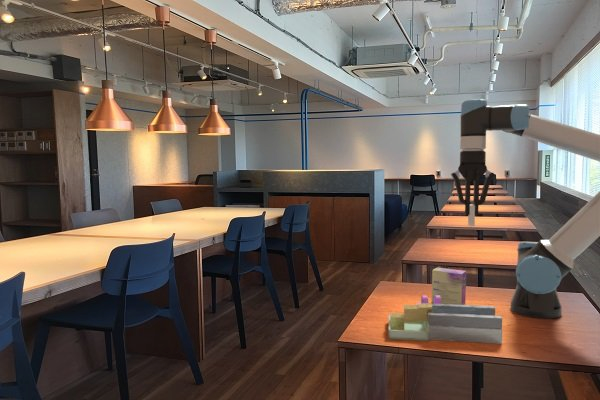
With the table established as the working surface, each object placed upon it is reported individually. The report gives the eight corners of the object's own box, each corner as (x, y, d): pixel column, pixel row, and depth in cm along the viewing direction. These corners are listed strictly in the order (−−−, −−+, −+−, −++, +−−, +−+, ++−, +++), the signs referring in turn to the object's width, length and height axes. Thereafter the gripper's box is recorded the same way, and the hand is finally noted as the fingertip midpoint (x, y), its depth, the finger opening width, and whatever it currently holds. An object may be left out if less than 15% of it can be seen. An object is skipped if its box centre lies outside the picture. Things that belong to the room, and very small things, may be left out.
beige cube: (431, 316, 143) (431, 303, 143) (433, 321, 140) (432, 307, 139) (417, 316, 144) (417, 303, 144) (418, 321, 140) (418, 307, 140)
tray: (425, 324, 149) (425, 316, 149) (428, 341, 135) (428, 332, 135) (388, 322, 151) (388, 314, 151) (388, 338, 137) (388, 330, 137)
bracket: (441, 318, 154) (441, 297, 154) (423, 318, 154) (423, 297, 154) (430, 306, 167) (430, 286, 167) (414, 306, 167) (414, 286, 167)
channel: (492, 328, 144) (493, 305, 144) (502, 343, 133) (502, 318, 132) (425, 325, 148) (425, 302, 147) (428, 339, 136) (428, 315, 136)
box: (465, 303, 169) (466, 270, 168) (461, 308, 165) (462, 273, 164) (436, 299, 175) (436, 266, 174) (431, 303, 170) (431, 270, 169)
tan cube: (418, 318, 144) (417, 304, 144) (418, 322, 140) (418, 308, 140) (404, 318, 145) (403, 305, 145) (404, 322, 141) (404, 309, 141)
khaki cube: (404, 313, 145) (390, 312, 146) (404, 317, 141) (390, 317, 142) (403, 326, 145) (390, 325, 146) (404, 331, 142) (390, 330, 142)
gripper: (492, 150, 154) (490, 224, 156) (449, 150, 156) (448, 223, 158) (497, 149, 147) (495, 227, 149) (452, 150, 149) (451, 226, 151)
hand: (471, 225), depth 154 cm, fingers closed
